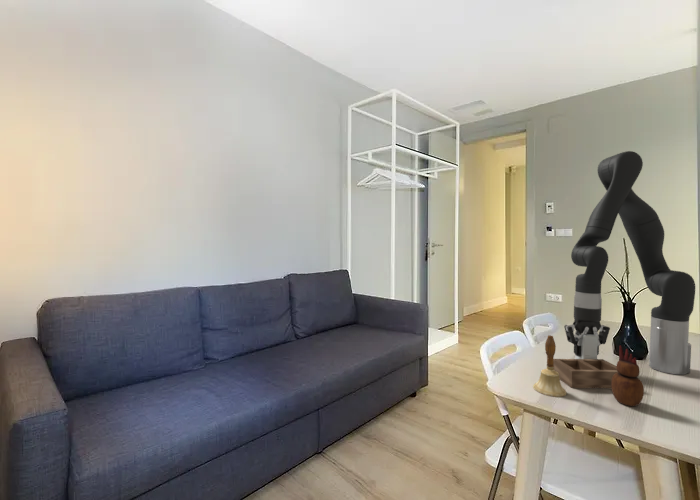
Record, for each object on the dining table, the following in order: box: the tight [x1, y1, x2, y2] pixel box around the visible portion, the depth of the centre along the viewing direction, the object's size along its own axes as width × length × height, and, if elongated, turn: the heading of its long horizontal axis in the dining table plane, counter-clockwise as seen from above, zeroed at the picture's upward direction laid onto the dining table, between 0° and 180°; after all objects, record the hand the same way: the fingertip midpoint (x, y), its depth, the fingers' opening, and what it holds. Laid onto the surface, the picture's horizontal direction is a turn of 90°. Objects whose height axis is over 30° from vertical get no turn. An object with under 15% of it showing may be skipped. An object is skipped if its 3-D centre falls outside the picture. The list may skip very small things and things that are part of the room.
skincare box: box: [574, 334, 598, 359], centre depth 113 cm, size 6×4×12 cm
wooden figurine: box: [610, 345, 645, 407], centre depth 90 cm, size 7×6×15 cm
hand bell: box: [532, 335, 568, 398], centre depth 97 cm, size 8×8×16 cm
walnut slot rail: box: [553, 358, 618, 389], centre depth 104 cm, size 16×10×5 cm, turn 89°
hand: (585, 355), depth 113 cm, fingers closed on skincare box, 4 cm apart
